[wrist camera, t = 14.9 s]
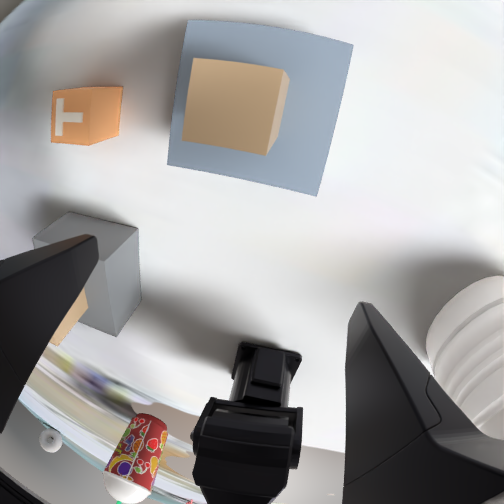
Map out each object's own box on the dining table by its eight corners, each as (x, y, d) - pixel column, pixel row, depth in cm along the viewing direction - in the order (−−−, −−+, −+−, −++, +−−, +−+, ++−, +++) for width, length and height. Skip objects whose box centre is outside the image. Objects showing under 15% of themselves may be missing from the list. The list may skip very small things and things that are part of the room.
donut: (49, 427, 75) (38, 446, 66) (44, 422, 73) (33, 442, 64) (68, 437, 73) (57, 458, 65) (63, 433, 71) (52, 454, 63)
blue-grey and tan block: (313, 171, 20) (321, 241, 11) (199, 146, 20) (118, 195, 11) (339, 58, 16) (377, 21, 7) (217, 36, 16) (140, -5, 7)
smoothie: (127, 402, 42) (83, 499, 25) (173, 419, 42) (135, 523, 25) (133, 421, 46) (97, 506, 29) (174, 436, 46) (143, 526, 29)
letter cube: (119, 135, 21) (87, 146, 17) (82, 132, 21) (49, 142, 17) (123, 86, 18) (90, 89, 15) (85, 87, 19) (51, 91, 15)
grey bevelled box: (141, 300, 29) (90, 378, 20) (79, 278, 29) (23, 341, 20) (138, 228, 24) (65, 303, 15) (69, 211, 25) (-7, 268, 16)
